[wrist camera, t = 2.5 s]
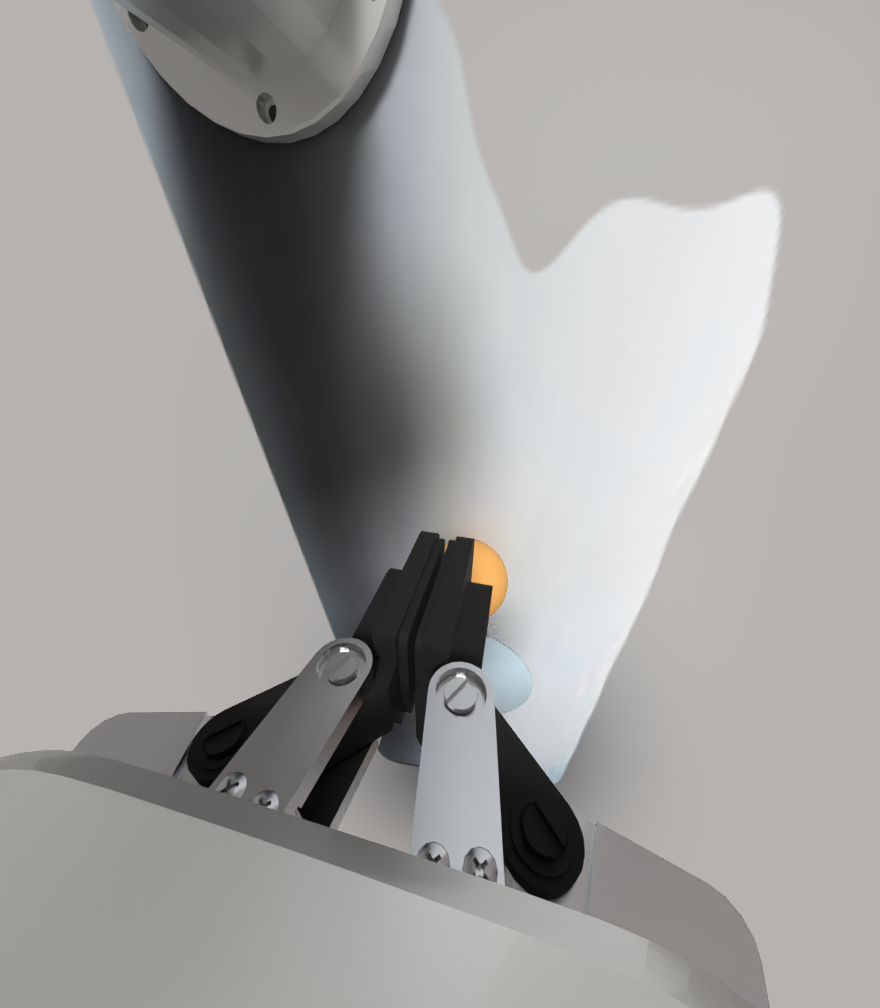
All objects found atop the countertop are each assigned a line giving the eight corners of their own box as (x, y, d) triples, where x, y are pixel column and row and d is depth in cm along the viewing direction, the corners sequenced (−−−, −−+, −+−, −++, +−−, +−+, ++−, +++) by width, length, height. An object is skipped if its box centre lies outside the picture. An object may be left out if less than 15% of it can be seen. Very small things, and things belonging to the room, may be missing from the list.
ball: (434, 517, 24) (412, 571, 20) (514, 528, 24) (510, 586, 19) (434, 575, 27) (415, 633, 23) (505, 587, 26) (500, 650, 22)
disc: (393, 616, 31) (392, 618, 31) (543, 644, 29) (543, 646, 29) (400, 696, 38) (399, 698, 38) (521, 724, 36) (521, 726, 36)
